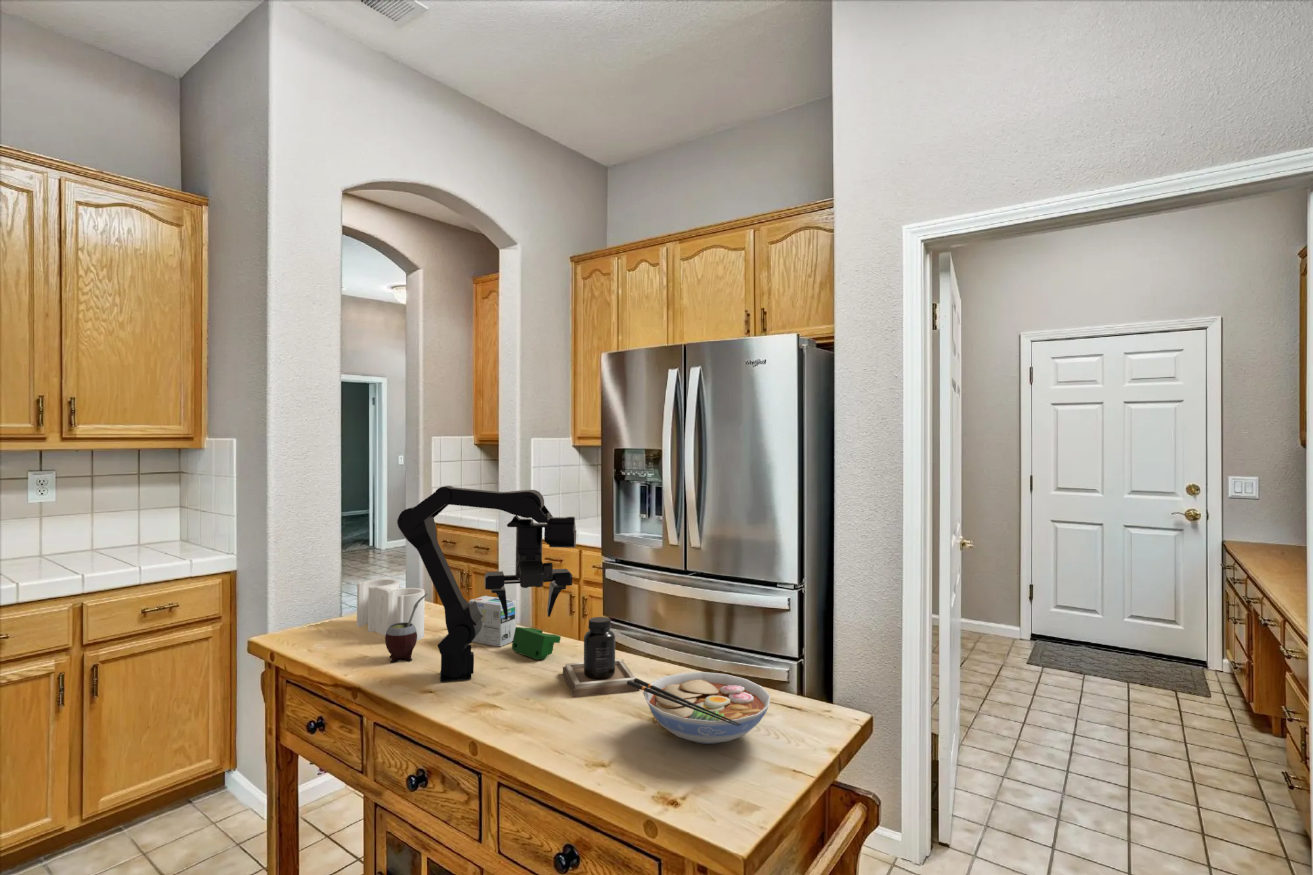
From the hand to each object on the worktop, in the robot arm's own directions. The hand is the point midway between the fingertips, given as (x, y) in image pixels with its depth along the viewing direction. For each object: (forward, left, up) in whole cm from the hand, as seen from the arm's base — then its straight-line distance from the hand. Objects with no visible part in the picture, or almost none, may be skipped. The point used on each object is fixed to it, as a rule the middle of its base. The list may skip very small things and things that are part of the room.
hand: (527, 617), depth 144 cm
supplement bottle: (+15, -7, -12) cm, 20 cm away
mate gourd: (-27, +19, -13) cm, 36 cm away
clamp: (+4, +15, -13) cm, 21 cm away
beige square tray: (+15, -7, -13) cm, 21 cm away
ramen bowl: (+28, -37, -13) cm, 48 cm away
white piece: (-32, +44, -13) cm, 55 cm away
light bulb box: (-6, +28, -13) cm, 32 cm away
